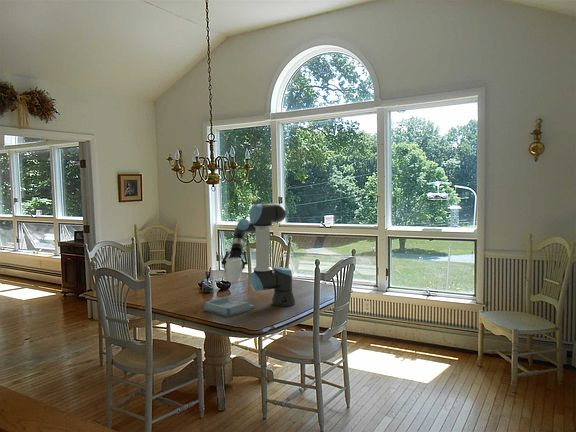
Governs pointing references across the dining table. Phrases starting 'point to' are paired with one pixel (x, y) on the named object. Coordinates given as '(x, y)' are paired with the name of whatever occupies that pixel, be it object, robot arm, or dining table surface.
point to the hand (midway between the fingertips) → (233, 272)
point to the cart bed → (226, 306)
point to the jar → (233, 269)
